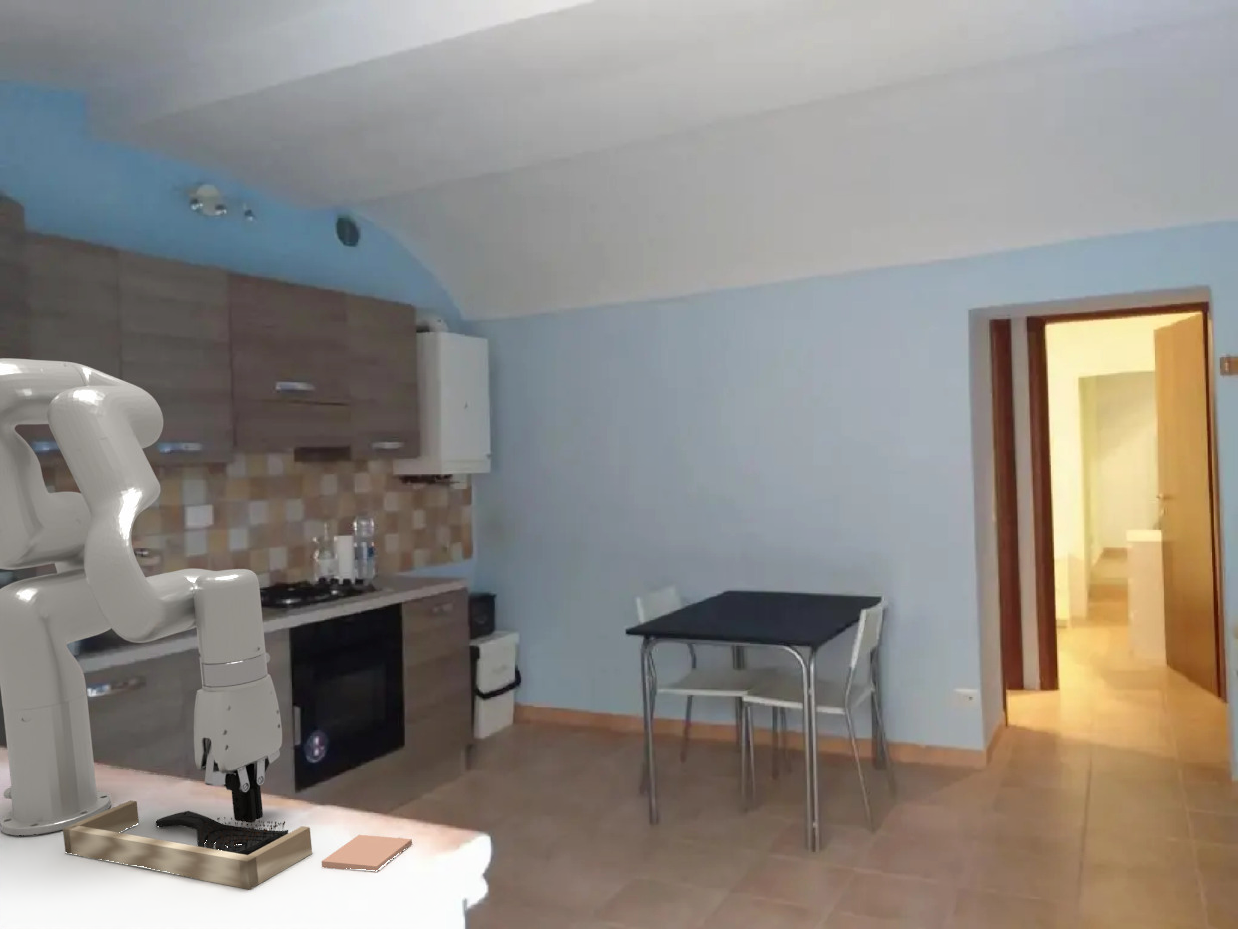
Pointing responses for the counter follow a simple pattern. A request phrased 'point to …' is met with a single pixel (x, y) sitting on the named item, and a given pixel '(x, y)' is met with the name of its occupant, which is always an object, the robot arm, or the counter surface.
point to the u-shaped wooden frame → (181, 850)
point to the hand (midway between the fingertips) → (248, 819)
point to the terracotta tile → (366, 852)
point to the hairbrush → (224, 832)
